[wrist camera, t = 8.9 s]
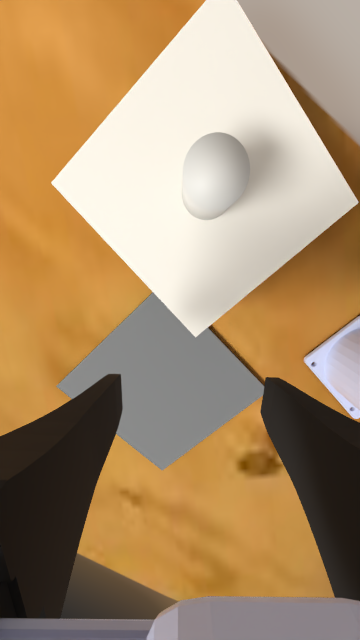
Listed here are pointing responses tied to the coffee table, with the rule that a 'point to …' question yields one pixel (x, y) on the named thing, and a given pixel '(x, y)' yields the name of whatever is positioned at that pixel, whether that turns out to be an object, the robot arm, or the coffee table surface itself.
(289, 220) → the lid
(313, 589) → the coffee table surface
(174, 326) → the mat
